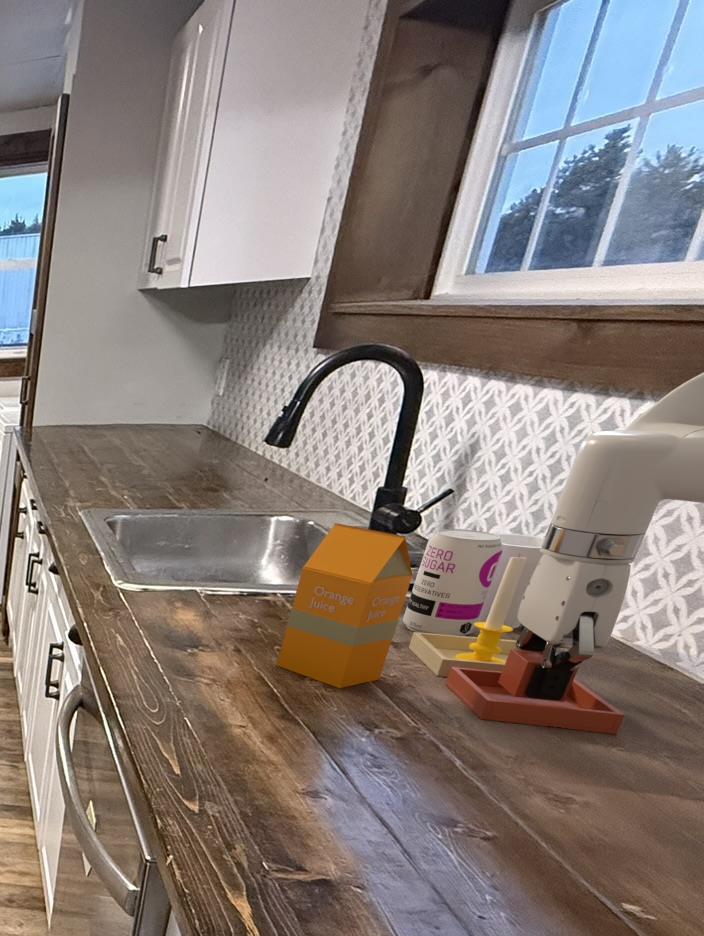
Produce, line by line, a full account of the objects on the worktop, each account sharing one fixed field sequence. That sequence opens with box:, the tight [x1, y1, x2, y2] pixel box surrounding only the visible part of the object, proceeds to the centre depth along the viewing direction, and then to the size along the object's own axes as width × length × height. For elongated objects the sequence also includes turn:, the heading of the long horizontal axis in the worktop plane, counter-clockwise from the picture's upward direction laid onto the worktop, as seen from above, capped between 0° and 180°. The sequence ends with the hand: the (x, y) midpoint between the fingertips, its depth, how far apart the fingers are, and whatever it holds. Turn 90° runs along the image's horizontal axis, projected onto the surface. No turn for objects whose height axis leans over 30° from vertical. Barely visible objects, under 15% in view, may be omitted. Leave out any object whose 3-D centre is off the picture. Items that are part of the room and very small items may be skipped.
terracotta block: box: [498, 649, 580, 702], centre depth 100 cm, size 5×5×5 cm
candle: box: [455, 553, 527, 663], centre depth 110 cm, size 5×5×16 cm
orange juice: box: [276, 522, 413, 689], centre depth 110 cm, size 8×9×20 cm
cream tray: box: [408, 631, 521, 678], centre depth 113 cm, size 12×11×2 cm
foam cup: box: [477, 532, 545, 629], centre depth 126 cm, size 10×9×13 cm
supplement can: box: [402, 528, 503, 636], centre depth 123 cm, size 8×8×15 cm
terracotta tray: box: [444, 667, 626, 735], centre depth 101 cm, size 12×11×2 cm
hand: (532, 688), depth 101 cm, fingers closed on terracotta block, 4 cm apart
